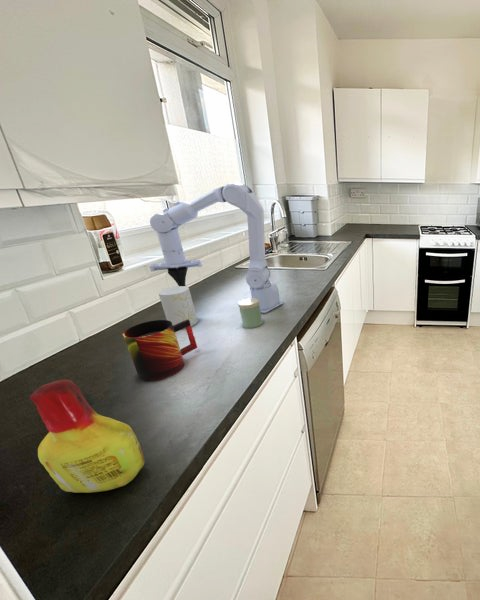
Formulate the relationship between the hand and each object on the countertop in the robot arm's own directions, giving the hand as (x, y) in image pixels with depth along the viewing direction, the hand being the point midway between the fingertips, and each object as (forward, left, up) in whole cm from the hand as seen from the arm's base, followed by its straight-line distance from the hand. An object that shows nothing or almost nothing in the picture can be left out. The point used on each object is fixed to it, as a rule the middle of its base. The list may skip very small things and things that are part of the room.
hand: (183, 288), depth 110 cm
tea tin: (-1, +28, -10) cm, 30 cm away
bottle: (+53, +49, -10) cm, 73 cm away
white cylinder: (+7, +6, -10) cm, 14 cm away
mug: (+26, +25, -10) cm, 38 cm away
